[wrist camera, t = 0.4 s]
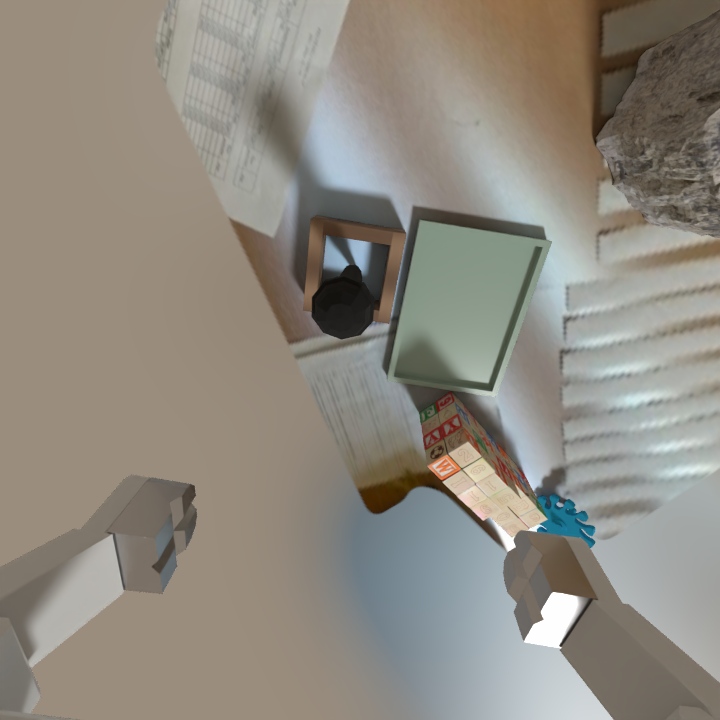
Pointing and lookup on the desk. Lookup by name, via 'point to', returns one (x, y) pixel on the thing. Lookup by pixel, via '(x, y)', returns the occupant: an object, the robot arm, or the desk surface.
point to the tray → (463, 306)
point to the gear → (565, 520)
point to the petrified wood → (671, 132)
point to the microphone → (343, 305)
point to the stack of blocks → (477, 467)
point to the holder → (357, 232)
